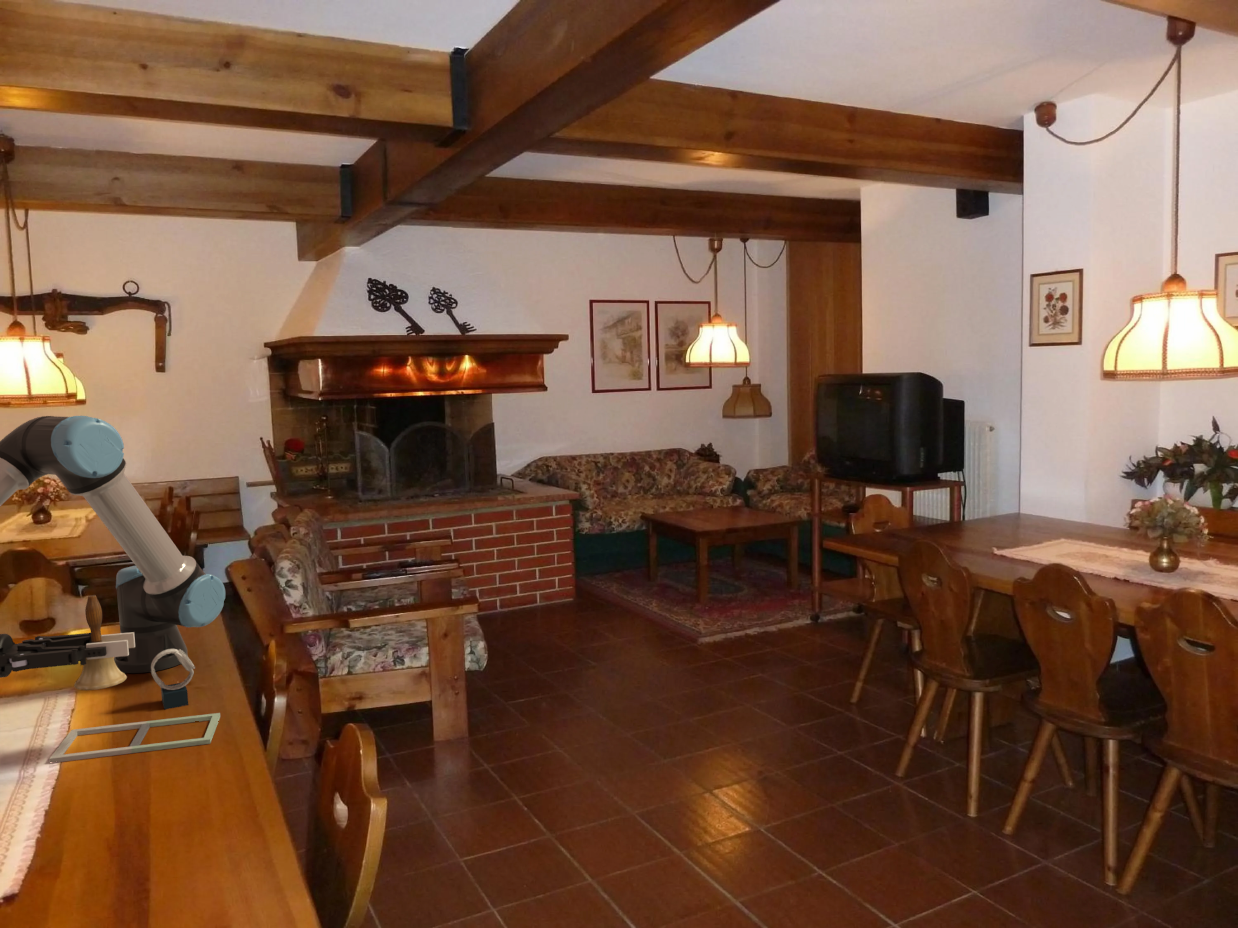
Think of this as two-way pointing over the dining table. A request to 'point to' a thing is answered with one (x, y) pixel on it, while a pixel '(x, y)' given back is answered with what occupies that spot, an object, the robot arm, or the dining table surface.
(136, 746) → the window frame
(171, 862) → the dining table surface
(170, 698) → the watch
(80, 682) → the hand bell
